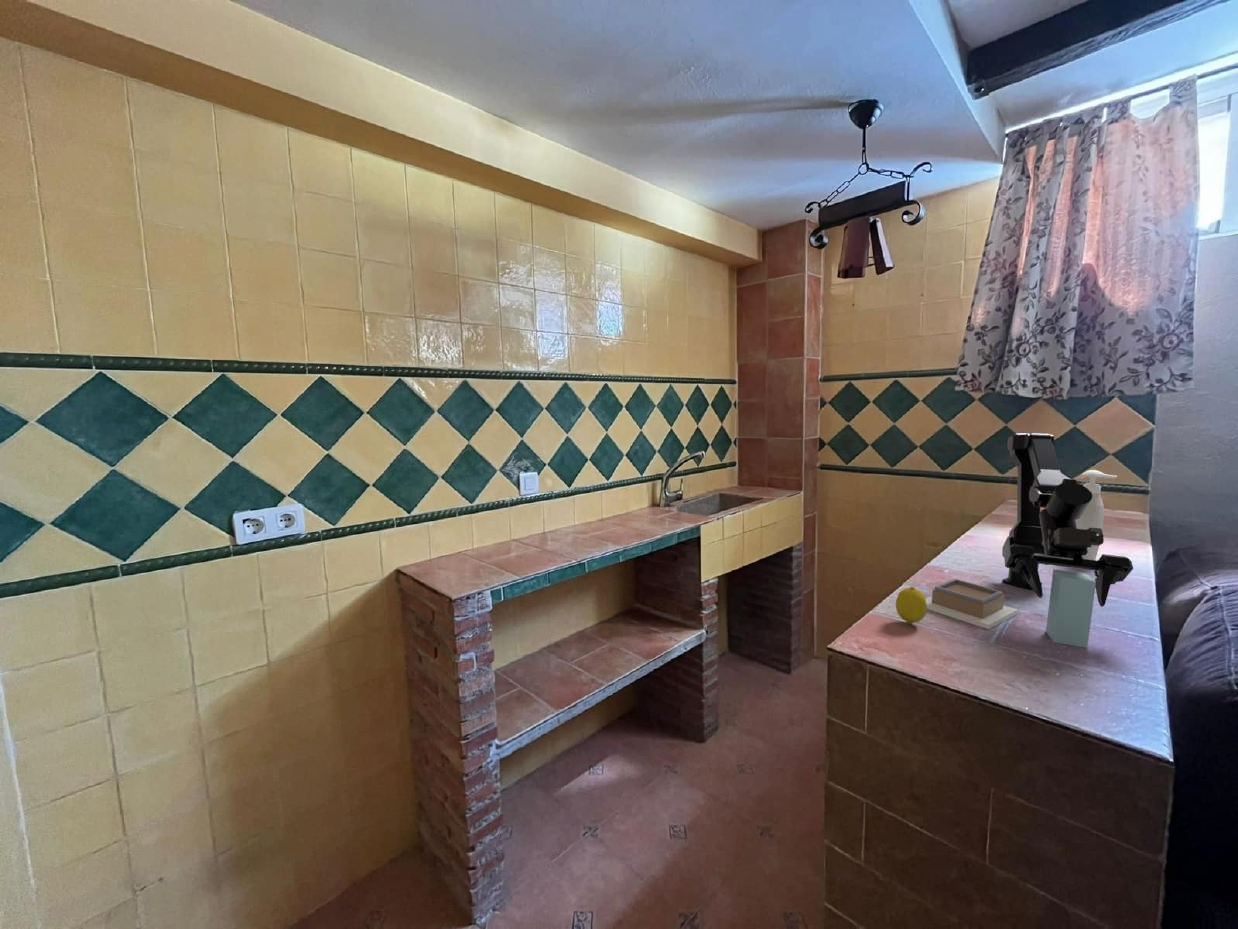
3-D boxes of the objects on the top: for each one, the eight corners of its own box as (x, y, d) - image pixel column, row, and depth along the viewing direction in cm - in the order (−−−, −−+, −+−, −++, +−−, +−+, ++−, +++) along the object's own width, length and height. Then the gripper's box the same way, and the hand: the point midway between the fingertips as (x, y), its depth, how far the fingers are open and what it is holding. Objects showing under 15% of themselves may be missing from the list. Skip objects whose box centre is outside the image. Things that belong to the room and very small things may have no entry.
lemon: (929, 631, 101) (932, 593, 100) (899, 628, 102) (902, 590, 101) (919, 619, 107) (922, 583, 106) (890, 617, 108) (893, 581, 107)
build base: (947, 593, 121) (949, 574, 121) (1017, 614, 110) (1019, 593, 109) (917, 605, 114) (919, 585, 113) (988, 629, 102) (990, 607, 102)
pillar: (1045, 631, 101) (1053, 569, 100) (1078, 637, 99) (1086, 573, 98) (1053, 642, 97) (1061, 577, 95) (1087, 648, 95) (1096, 581, 93)
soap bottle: (1106, 572, 137) (1120, 474, 133) (1067, 566, 142) (1078, 471, 138) (1103, 560, 147) (1115, 469, 144) (1066, 554, 153) (1077, 466, 149)
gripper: (1013, 506, 104) (1021, 573, 95) (1135, 516, 95) (1155, 591, 87) (1001, 534, 112) (1007, 599, 103) (1113, 546, 103) (1129, 617, 95)
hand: (1071, 601), depth 97 cm, fingers open, 9 cm apart
